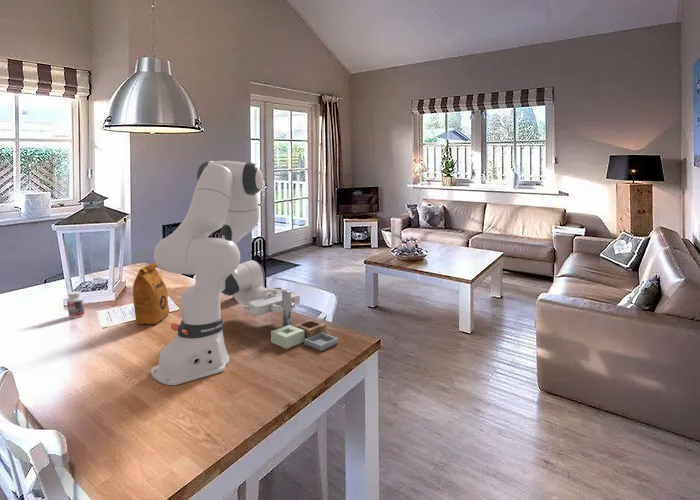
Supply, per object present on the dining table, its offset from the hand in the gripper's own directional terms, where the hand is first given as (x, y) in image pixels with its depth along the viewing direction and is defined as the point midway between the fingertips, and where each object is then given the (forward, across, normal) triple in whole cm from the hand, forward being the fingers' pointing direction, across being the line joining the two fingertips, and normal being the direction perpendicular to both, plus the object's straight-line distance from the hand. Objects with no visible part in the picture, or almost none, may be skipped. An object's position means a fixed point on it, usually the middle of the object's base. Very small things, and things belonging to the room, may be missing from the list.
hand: (288, 307), depth 161 cm
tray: (+16, 0, +9) cm, 18 cm away
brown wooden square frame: (+7, +3, +9) cm, 12 cm away
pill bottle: (-77, -44, +10) cm, 90 cm away
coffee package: (-49, -27, +10) cm, 57 cm away
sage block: (+6, -6, +9) cm, 12 cm away
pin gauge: (-1, 0, +8) cm, 8 cm away
